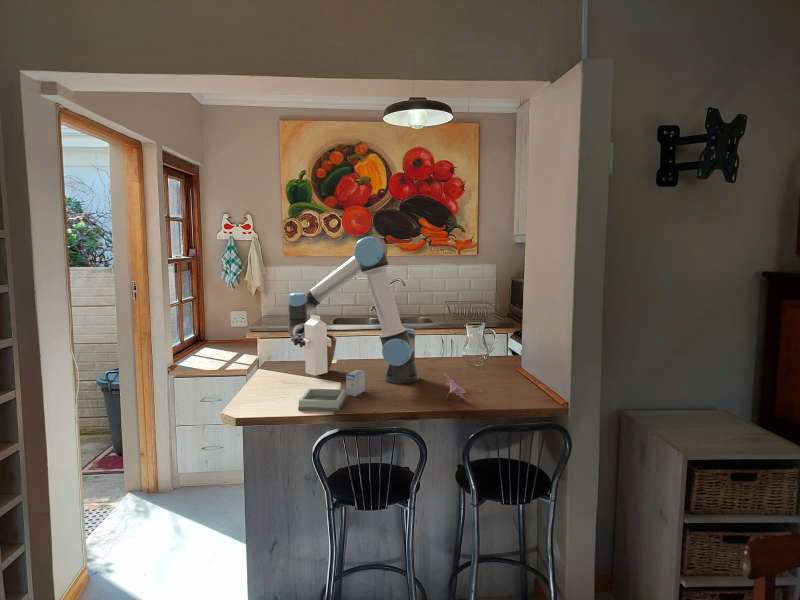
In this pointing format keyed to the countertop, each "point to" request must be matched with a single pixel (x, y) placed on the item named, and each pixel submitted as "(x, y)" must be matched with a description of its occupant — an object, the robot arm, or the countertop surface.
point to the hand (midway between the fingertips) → (319, 344)
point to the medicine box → (355, 382)
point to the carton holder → (322, 399)
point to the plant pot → (331, 352)
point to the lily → (454, 387)
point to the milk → (316, 346)
